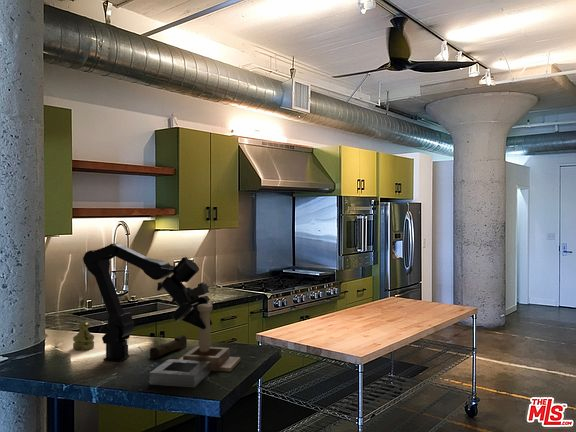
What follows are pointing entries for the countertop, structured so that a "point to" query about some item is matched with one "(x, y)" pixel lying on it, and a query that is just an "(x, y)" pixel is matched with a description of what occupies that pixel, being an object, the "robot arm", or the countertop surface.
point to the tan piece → (213, 358)
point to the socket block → (180, 373)
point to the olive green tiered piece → (83, 337)
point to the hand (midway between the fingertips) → (208, 326)
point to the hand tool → (169, 347)
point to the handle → (205, 317)
